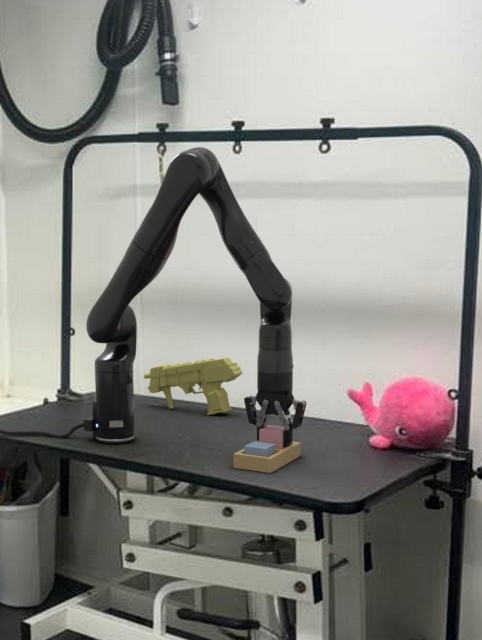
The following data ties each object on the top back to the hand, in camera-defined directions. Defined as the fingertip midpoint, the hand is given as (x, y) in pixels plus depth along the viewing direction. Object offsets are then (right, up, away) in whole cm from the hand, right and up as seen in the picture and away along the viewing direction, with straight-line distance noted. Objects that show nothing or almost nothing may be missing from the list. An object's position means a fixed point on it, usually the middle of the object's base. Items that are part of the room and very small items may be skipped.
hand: (274, 444), depth 206 cm
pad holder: (-2, -4, -2) cm, 5 cm away
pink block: (0, 0, 0) cm, 0 cm away
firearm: (-12, +5, +52) cm, 54 cm away
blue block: (-4, -4, -5) cm, 8 cm away
